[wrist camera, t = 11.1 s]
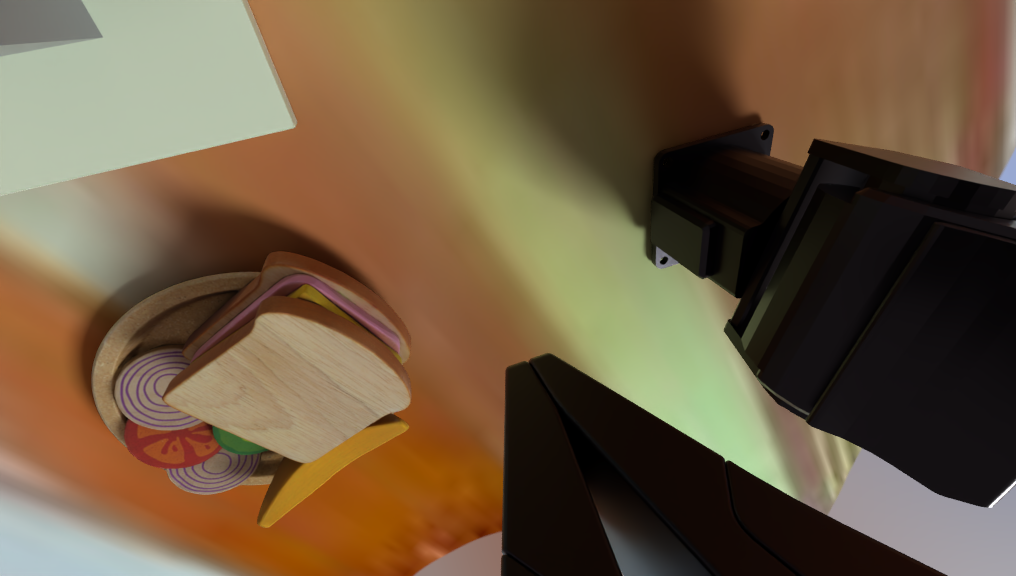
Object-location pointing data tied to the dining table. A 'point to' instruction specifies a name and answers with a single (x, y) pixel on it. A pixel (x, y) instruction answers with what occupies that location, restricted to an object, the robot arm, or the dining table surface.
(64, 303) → the dining table surface
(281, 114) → the base plate
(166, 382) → the toy sandwich meal
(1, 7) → the grey rectangular block
